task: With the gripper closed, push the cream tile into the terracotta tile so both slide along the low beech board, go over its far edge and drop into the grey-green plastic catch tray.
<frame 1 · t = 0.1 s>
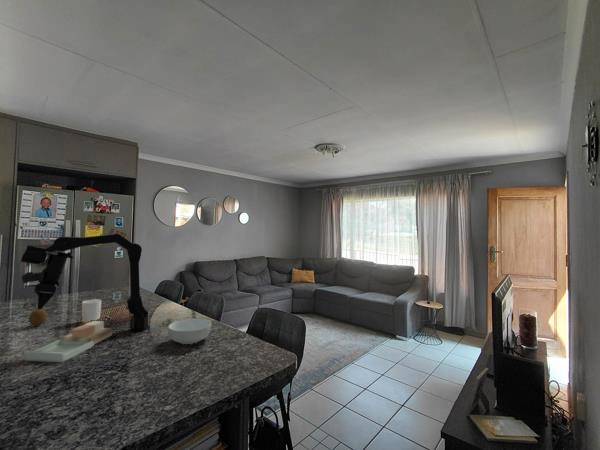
hand: (40, 306, 113), 15 cm above the kitchen island counter, tool pointing down, fingers open, 9 cm apart
fruit: (37, 326, 135), on the kitchen island counter
beech board: (88, 339, 120), on the kitchen island counter
terracotta tile: (83, 334, 117), point 3 cm above the kitchen island counter, touching beech board
cream tile: (93, 330, 123), point 3 cm above the kitchen island counter, touching beech board
white cup: (91, 321, 143), on the kitchen island counter
catch tray: (60, 352, 107), on the kitchen island counter
cereal bowl: (190, 341, 120), on the kitchen island counter
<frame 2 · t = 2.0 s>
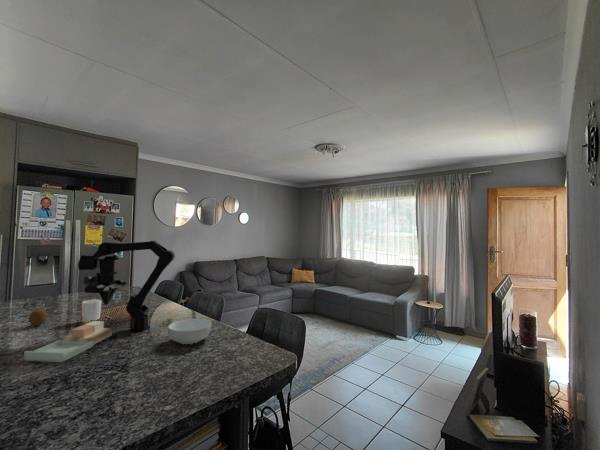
hand: (106, 304, 130), 12 cm above the kitchen island counter, tool pointing down, fingers closed
nothing on the kitchen island counter moved.
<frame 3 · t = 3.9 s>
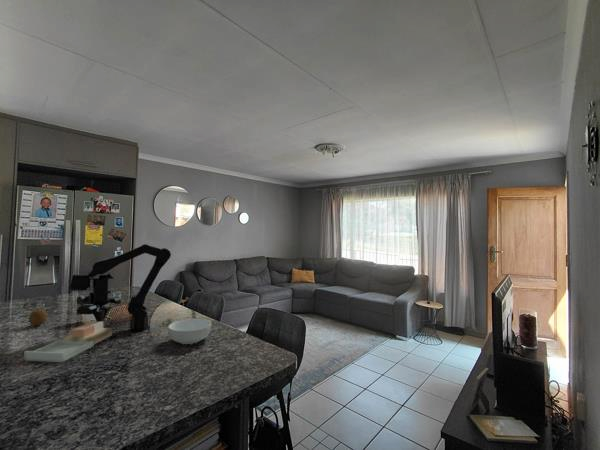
hand: (99, 324, 126), 4 cm above the kitchen island counter, tool pointing down, fingers closed
cream tile: (93, 330, 122), point 3 cm above the kitchen island counter, touching beech board, gripper
everything else where it was.
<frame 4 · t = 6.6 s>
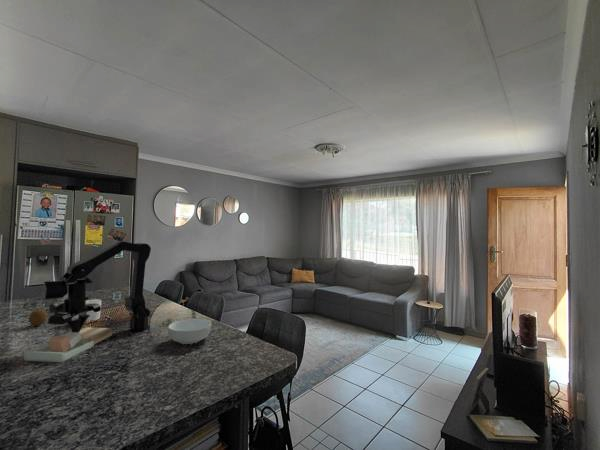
hand: (75, 335, 114), 4 cm above the kitchen island counter, tool pointing down, fingers closed
terracotta tile: (62, 341, 108), point 4 cm above the kitchen island counter, tilted 109°, touching cream tile
cream tile: (70, 343, 111), point 2 cm above the kitchen island counter, tilted 19°, touching gripper, terracotta tile
everything else where it was.
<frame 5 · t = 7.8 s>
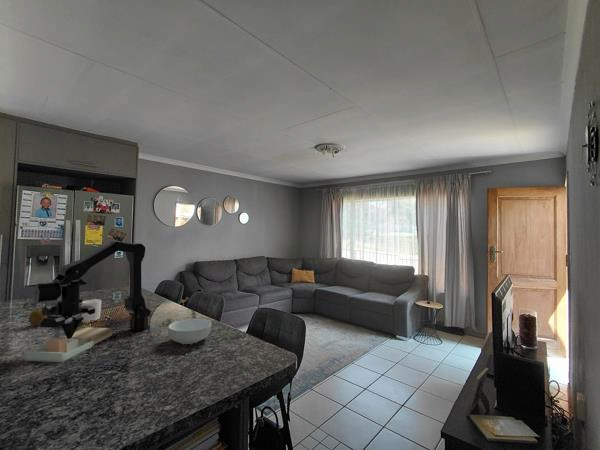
hand: (69, 338, 111), 4 cm above the kitchen island counter, tool pointing down, fingers closed
terracotta tile: (59, 345, 107), point 3 cm above the kitchen island counter, tilted 90°, touching catch tray
cream tile: (66, 349, 109), resting on catch tray
everything else where it was.
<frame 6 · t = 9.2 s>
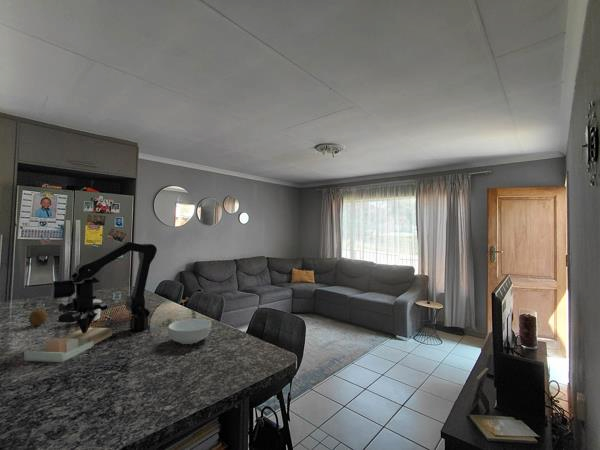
hand: (84, 332, 118), 4 cm above the kitchen island counter, tool pointing down, fingers closed
nothing on the kitchen island counter moved.
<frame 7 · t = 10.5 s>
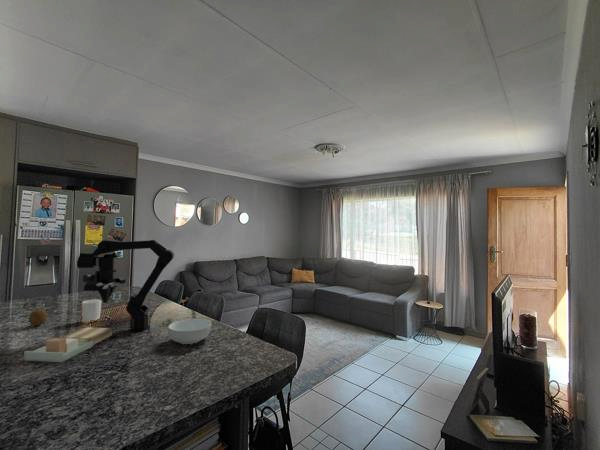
hand: (105, 302, 129), 13 cm above the kitchen island counter, tool pointing down, fingers closed
nothing on the kitchen island counter moved.
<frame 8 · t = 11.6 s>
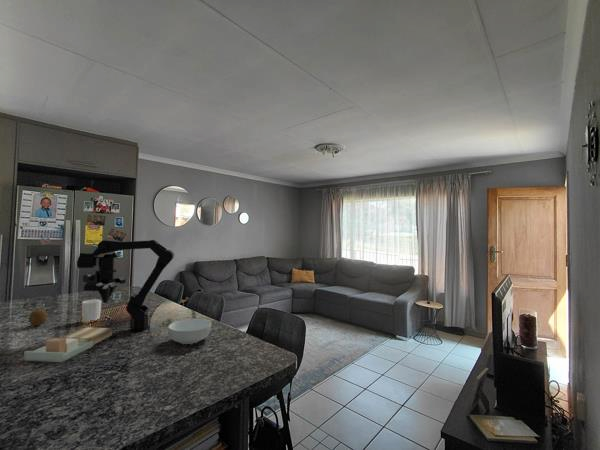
hand: (105, 302, 129), 13 cm above the kitchen island counter, tool pointing down, fingers closed
nothing on the kitchen island counter moved.
at the end: cream tile inside the target area (3.5 cm from its centre), point 0.5 cm above the kitchen island counter; terracotta tile inside the target area (1.0 cm from its centre), point 3.0 cm above the kitchen island counter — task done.
